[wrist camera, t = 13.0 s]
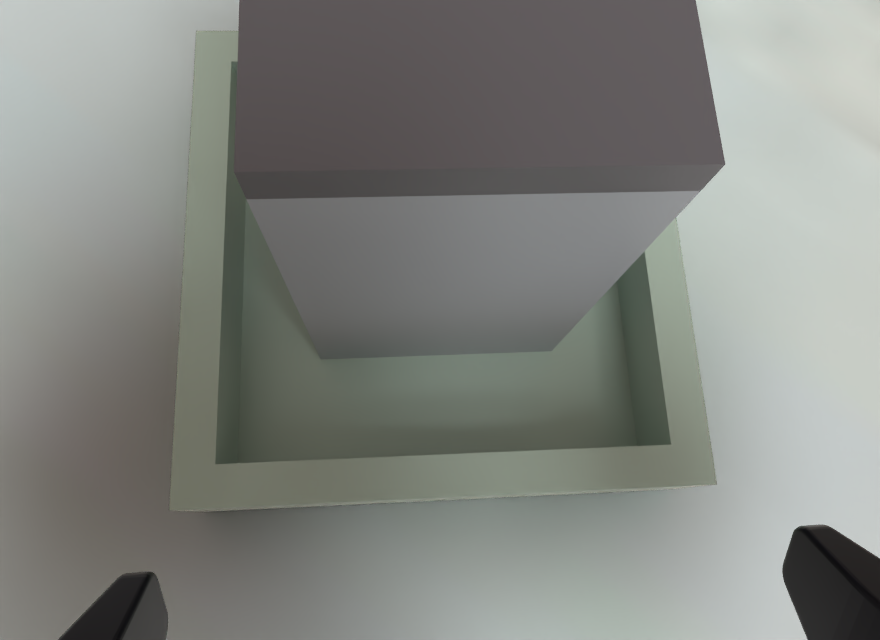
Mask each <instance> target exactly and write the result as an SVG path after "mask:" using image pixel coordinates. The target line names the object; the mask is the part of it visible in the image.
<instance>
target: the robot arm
mask: <svg viewBox="0 0 880 640" xmlns="http://www.w3.org/2000/svg"><path fill="white" fill-rule="evenodd" d="M783 579H784V582H785V585H786V588H787V590H788V593H789V595H790V598H791V600H792V602H793V605H794V607H795V610H796V612H797V615H798V617H799V620H800V622H801V624H802V627H803V629H804V632H805V634H806V637H807V639H808V640H880V558H878V557H877V556H875V555H873V554H872V553H870V552H869V551H867V550H866V549H864V548H863V547H861V546H859V545H858V544H856V543H855V542H853V541H852V540H850V539H849V538H847V537H845V536H844V535H842V534H841V533H839V532H838V531H836V530H835V529H833V528H831V527H829V526H827V525H808V526H800V527H798V528H796V529H795V530H794V532H793V535H792V538H791V541H790V544H789V547H788V550H787V554H786V557H785V560H784V563H783ZM167 629H168V613H167V609H166V606H165V602H164V599H163V595H162V592H161V589H160V585H159V582H158V579H157V577H156V575H155V574H154V573H153V572H138V573H126V574H123V575H122V576H120V577H119V578H118V579H117V580H116V581H115V582H114V583H113V584H112V585H111V586H110V587H109V588H108V589H107V590H106V591H105V592H104V593H103V594H102V595H101V596H100V597H99V598H98V599H97V600H96V601H95V602H94V603H93V604H92V605H91V606H90V607H89V608H88V609H87V610H86V611H85V612H84V613H83V615H82V616H81V617H80V618H79V619H78V620H77V621H76V622H75V623H74V624H73V625H72V626H71V627H70V628H69V629H68V630H67V631H66V632H65V633H64V634H63V635H62V636H61V637H60V638H59V639H58V640H166V635H167Z"/></svg>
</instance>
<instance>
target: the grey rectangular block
mask: <svg viewBox="0 0 880 640" xmlns="http://www.w3.org/2000/svg"><path fill="white" fill-rule="evenodd" d="M724 165H725V161H724V155H723V150H722V144H721V139H720V133H719V127H718V122H717V116H716V111H715V105H714V100H713V94H712V89H711V83H710V78H709V72H708V67H707V61H706V56H705V50H704V45H703V39H702V34H701V28H700V23H699V17H698V12H697V6H696V1H695V0H240V2H239V32H238V62H237V92H236V122H235V152H234V174H235V176H236V178H237V180H238V182H239V184H240V187H241V189H242V191H243V193H244V195H245V197H246V199H247V202H248V204H249V206H250V208H251V210H252V212H253V215H254V217H255V219H256V221H257V223H258V225H259V227H260V230H261V232H262V234H263V236H264V238H265V240H266V243H267V245H268V247H269V249H270V251H271V253H272V255H273V258H274V260H275V262H276V264H277V266H278V268H279V271H280V273H281V275H282V277H283V279H284V281H285V283H286V286H287V288H288V290H289V292H290V294H291V296H292V299H293V301H294V303H295V305H296V307H297V309H298V312H299V314H300V316H301V318H302V320H303V322H304V324H305V327H306V329H307V331H308V333H309V335H310V337H311V340H312V342H313V344H314V346H315V348H316V350H317V352H318V355H319V357H320V359H349V358H377V357H405V356H433V355H461V354H489V353H517V352H545V351H552V350H553V349H554V348H555V347H556V346H557V345H558V344H559V343H560V341H561V340H562V339H563V338H564V337H565V336H566V335H567V334H568V333H569V332H570V331H571V330H572V329H573V327H574V326H575V325H576V324H577V323H578V322H579V321H580V320H581V319H582V318H583V317H584V316H585V315H586V314H587V312H588V311H589V310H590V309H591V308H592V307H593V306H594V305H595V304H596V303H597V302H598V301H599V300H600V298H601V297H602V296H603V295H604V294H605V293H606V292H607V291H608V290H609V289H610V288H611V287H612V286H613V284H614V283H615V282H616V281H617V280H618V279H619V278H620V277H621V276H622V275H623V274H624V273H625V272H626V270H627V269H628V268H629V267H630V266H631V265H632V264H633V263H634V262H635V261H636V260H637V259H638V258H639V256H640V255H641V254H642V253H643V252H644V251H645V250H646V249H647V248H648V247H649V246H650V245H651V244H652V243H653V241H654V240H655V239H656V238H657V237H658V236H659V235H660V234H661V233H662V232H663V231H664V230H665V229H666V227H667V226H668V225H669V224H670V223H671V222H672V221H673V220H674V219H675V218H676V217H677V216H678V215H679V213H680V212H681V211H682V210H683V209H684V208H685V207H686V206H687V205H688V204H689V203H690V202H691V201H692V199H693V198H694V197H695V196H696V195H697V194H698V193H699V192H700V191H701V190H702V189H703V188H704V187H705V186H706V184H707V183H708V182H709V181H710V180H711V179H712V178H713V177H714V176H715V175H716V174H717V173H718V172H719V170H720V169H721V168H722V167H723V166H724Z"/></svg>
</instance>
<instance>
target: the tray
mask: <svg viewBox="0 0 880 640" xmlns="http://www.w3.org/2000/svg"><path fill="white" fill-rule="evenodd" d="M238 32H239V31H196V44H195V61H194V79H193V97H192V114H191V132H190V149H189V167H188V184H187V202H186V220H185V237H184V255H183V272H182V290H181V308H180V325H179V343H178V360H177V378H176V396H175V413H174V431H173V448H172V466H171V483H170V501H169V510H170V511H195V512H211V511H232V510H252V509H273V508H294V507H315V506H336V505H357V504H378V503H398V502H419V501H440V500H461V499H482V498H503V497H524V496H544V495H565V494H586V493H607V492H628V491H649V490H670V489H679V488H688V487H697V486H706V485H716V484H717V482H716V475H715V469H714V462H713V456H712V449H711V442H710V436H709V429H708V423H707V416H706V410H705V403H704V397H703V390H702V384H701V377H700V370H699V364H698V357H697V351H696V344H695V338H694V331H693V325H692V318H691V312H690V305H689V298H688V292H687V285H686V279H685V272H684V266H683V259H682V253H681V246H680V240H679V233H678V227H677V220H676V218H675V219H674V220H673V221H672V222H671V223H670V224H669V225H668V226H667V227H666V229H665V230H664V231H663V232H662V233H661V234H660V235H659V236H658V237H657V238H656V239H655V240H654V241H653V243H652V244H651V245H650V246H649V247H648V248H647V249H646V250H645V251H644V252H643V253H642V254H641V255H640V256H639V258H638V259H637V260H636V261H635V262H634V263H633V264H632V265H631V266H630V267H629V268H628V269H627V270H626V272H625V273H624V274H623V275H622V276H621V277H620V278H619V279H618V280H617V281H616V282H615V283H614V284H613V286H612V287H611V288H610V289H609V290H608V291H607V292H606V293H605V294H604V295H603V296H602V297H601V298H600V300H599V301H598V302H597V303H596V304H595V305H594V306H593V307H592V308H591V309H590V310H589V311H588V312H587V314H586V315H585V316H584V317H583V318H582V319H581V320H580V321H579V322H578V323H577V324H576V325H575V326H574V327H573V329H572V330H571V331H570V332H569V333H568V334H567V335H566V336H565V337H564V338H563V339H562V340H561V341H560V343H559V344H558V345H557V346H556V347H555V348H554V349H553V350H552V351H545V352H517V353H489V354H461V355H433V356H405V357H377V358H349V359H320V357H319V355H318V352H317V350H316V348H315V346H314V344H313V342H312V340H311V337H310V335H309V333H308V331H307V329H306V327H305V324H304V322H303V320H302V318H301V316H300V314H299V312H298V309H297V307H296V305H295V303H294V301H293V299H292V296H291V294H290V292H289V290H288V288H287V286H286V283H285V281H284V279H283V277H282V275H281V273H280V271H279V268H278V266H277V264H276V262H275V260H274V258H273V255H272V253H271V251H270V249H269V247H268V245H267V243H266V240H265V238H264V236H263V234H262V232H261V230H260V227H259V225H258V223H257V221H256V219H255V217H254V215H253V212H252V210H251V208H250V206H249V204H248V202H247V199H246V197H245V195H244V193H243V191H242V189H241V187H240V184H239V182H238V180H237V178H236V176H235V174H234V152H235V122H236V92H237V62H238Z"/></svg>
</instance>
